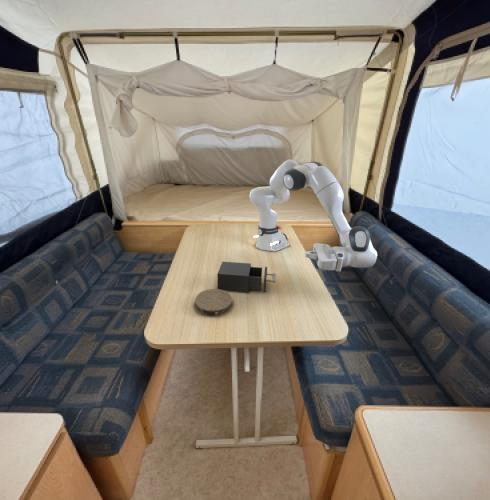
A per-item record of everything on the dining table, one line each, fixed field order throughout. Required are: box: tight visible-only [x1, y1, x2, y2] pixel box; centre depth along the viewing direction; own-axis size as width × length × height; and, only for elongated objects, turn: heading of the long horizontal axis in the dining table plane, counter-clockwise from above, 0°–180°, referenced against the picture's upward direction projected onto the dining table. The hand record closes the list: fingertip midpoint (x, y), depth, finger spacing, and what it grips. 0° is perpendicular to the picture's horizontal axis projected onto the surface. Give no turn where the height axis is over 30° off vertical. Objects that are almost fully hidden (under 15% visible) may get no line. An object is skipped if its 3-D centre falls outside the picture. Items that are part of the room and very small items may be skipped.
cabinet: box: [216, 261, 252, 294], centre depth 130 cm, size 15×13×9 cm
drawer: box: [248, 266, 276, 293], centre depth 129 cm, size 18×11×7 cm, turn 82°
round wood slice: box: [194, 288, 233, 317], centre depth 116 cm, size 16×16×3 cm
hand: (305, 254), depth 120 cm, fingers closed
